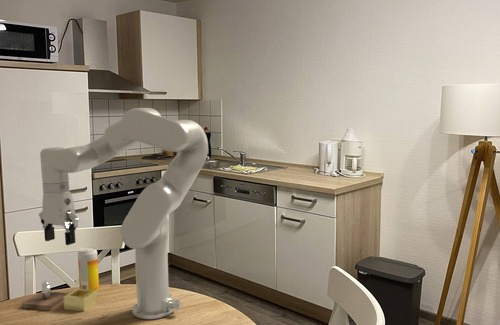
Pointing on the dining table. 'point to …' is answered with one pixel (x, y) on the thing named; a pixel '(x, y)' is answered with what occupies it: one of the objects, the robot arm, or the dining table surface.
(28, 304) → the keeper block
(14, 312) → the dining table surface
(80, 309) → the square wooden frame
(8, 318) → the dining table surface
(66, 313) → the dining table surface
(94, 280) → the beer can
